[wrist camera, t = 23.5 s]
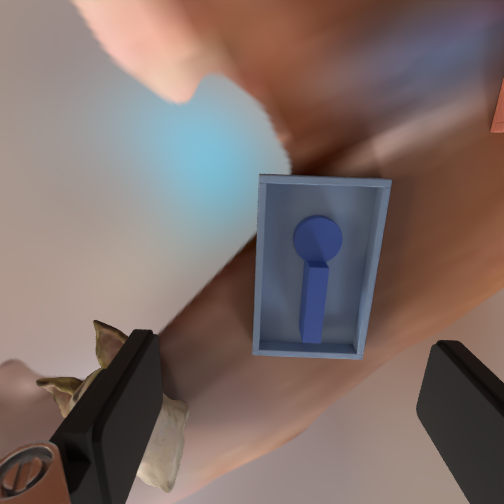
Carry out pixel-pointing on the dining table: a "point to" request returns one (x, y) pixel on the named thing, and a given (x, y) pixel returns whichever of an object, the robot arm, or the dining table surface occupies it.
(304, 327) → the blue spoon
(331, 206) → the blue tray
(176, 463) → the ceramic sculpture
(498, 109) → the rose tray
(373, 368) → the dining table surface
